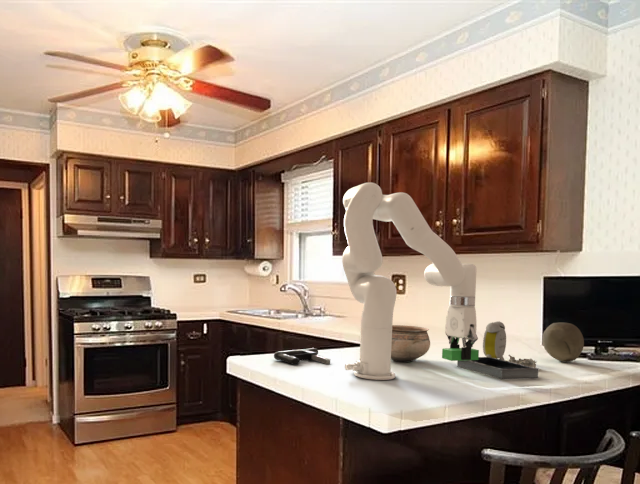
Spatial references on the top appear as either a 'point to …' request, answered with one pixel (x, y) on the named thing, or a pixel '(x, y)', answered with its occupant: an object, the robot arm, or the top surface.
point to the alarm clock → (494, 340)
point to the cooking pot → (409, 342)
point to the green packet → (458, 354)
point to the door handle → (300, 356)
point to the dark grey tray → (499, 368)
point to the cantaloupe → (563, 341)
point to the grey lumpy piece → (523, 361)
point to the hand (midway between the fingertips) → (460, 357)
